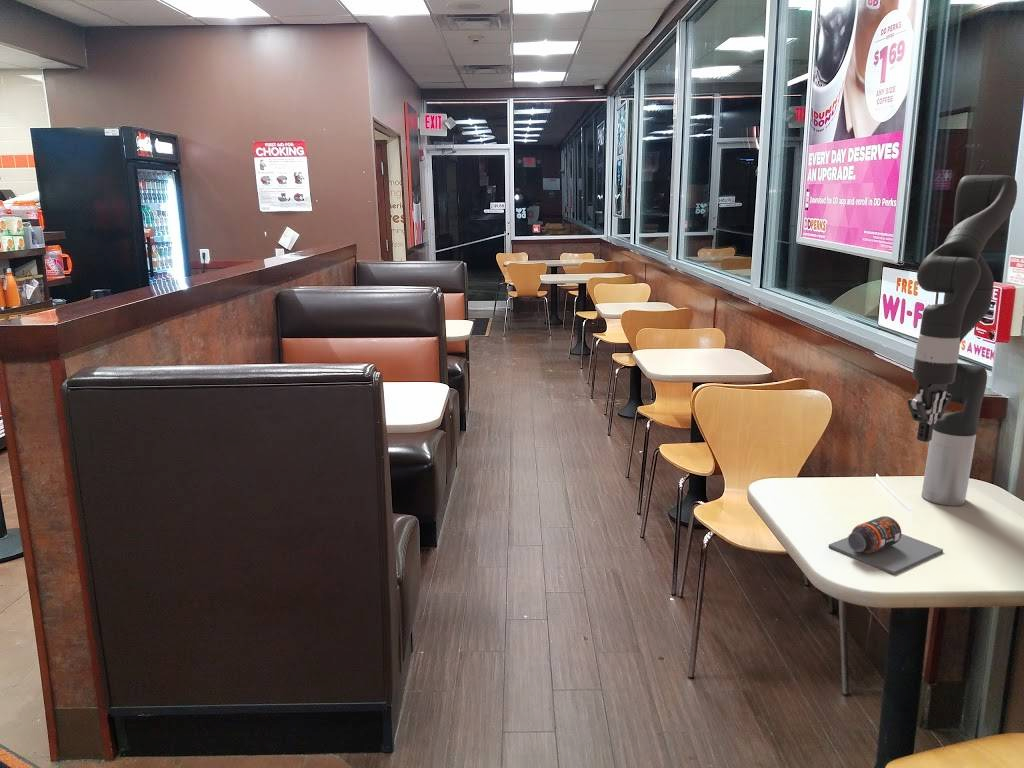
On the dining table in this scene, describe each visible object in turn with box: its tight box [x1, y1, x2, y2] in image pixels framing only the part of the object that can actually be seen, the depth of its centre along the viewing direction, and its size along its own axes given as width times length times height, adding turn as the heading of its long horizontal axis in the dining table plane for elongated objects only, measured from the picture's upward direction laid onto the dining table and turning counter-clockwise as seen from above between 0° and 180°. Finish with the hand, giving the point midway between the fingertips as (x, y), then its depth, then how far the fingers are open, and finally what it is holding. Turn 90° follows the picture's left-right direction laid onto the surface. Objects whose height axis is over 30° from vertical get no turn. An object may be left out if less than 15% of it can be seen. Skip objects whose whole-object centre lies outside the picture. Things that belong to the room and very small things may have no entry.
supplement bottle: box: [847, 515, 902, 553], centre depth 155 cm, size 6×6×11 cm
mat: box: [828, 533, 944, 576], centre depth 156 cm, size 18×14×1 cm
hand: (924, 440), depth 156 cm, fingers closed
